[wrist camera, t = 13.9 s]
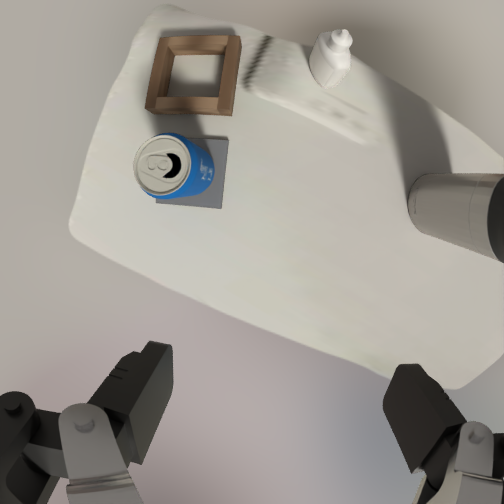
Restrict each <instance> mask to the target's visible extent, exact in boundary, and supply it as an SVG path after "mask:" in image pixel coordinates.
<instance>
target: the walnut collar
mask: <svg viewBox="0 0 504 504" xmlns="http://www.w3.org/2000/svg"><path fill="white" fill-rule="evenodd" d="M241 49H242V46H241V39H240V36H229V35H198V36H177V37H164V38H160V39H159V43H158V47H157V51H156V55H155V59H154V63H153V68H152V73H151V77H150V82H149V87H148V92H147V98H146V103H145V109H146V110H148V111H150V112H151V113H153V114H200V115H222V116H232V112H233V104H234V97H235V90H236V82H237V75H238V69H239V62H240V55H241ZM175 55H225V58H224V65H223V71H222V77H221V83H220V90H219V97H167V92H168V87H169V81H170V76H171V71H172V66H173V62H174V57H175Z"/></svg>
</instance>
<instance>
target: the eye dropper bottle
mask: <svg viewBox="0 0 504 504" xmlns="http://www.w3.org/2000/svg"><path fill="white" fill-rule="evenodd" d="M351 44H352V37H351V35H350V34H349V32H348V31H347V30H346V29H343V30H339V29H338V30H334V31H333V32H323V33H321V34H319V36H318V37H317V40H316V42H315V45H314V47H313V50H312V52H311V55H310V57H309V65H310V70H311V73H312V75H313V77H314V78H315V80H316V81H317V83H318V84H319V85H320V86H321V87H322V88H325V89H327V88H332V87H336V86H337V85H338V84H339V82H340V81H341V80H342V79H343V77H344V76H345V75H346V73H347V72H348V71H349V69H350V67H351V54H350V50H349V47H350V46H351Z"/></svg>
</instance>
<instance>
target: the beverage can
mask: <svg viewBox="0 0 504 504" xmlns="http://www.w3.org/2000/svg"><path fill="white" fill-rule="evenodd" d="M133 170H134V175H135V178H136V181H137V182H138V184H139V185H140V187H141V188H142V189H143V190H144V191H145V192H146V193H147V194H148V195H150V196H152V197H154V198H157V199H173V198H180V197H187V196H194V195H198V194H200V193H202V192H203V191H205V190H206V189H207V188H208V187H209V186H210V184H211V182H212V180H213V178H214V173H215V167H214V162H213V160H212V158H211V156H210V155H209V154H208V153H207V152H206V151H205V150H203V149H202V148H200V147H199V146H197V145H196V144H194V143H193V142H191V141H189V140H188V139H186V138H185V137H183V136H181V135H179V134H175V133H162V134H159V135H156V136H154V137H152V138H151V139H149V140H147V141H146V142H145V143H144V144H143V145H142V146H141V147H140V148H139V150H138V151H137V154H136V156H135V159H134V165H133Z"/></svg>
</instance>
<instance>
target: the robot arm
mask: <svg viewBox="0 0 504 504" xmlns="http://www.w3.org/2000/svg"><path fill="white" fill-rule="evenodd" d="M408 209H409V214H410V218H411V220H412V222H413V224H414V225H415V227H416V228H417V229H418V230H419V231H421V232H422V233H424V234H427V235H430V236H433V237H436V238H438V239H441V240H444V241H447V242H450V243H452V244H455V245H458V246H461V247H464V248H466V249H469V250H472V251H474V252H477V253H480V254H482V255H485V256H487V257H490V258H493V259H495V260H498V261H500V262H502V263H504V174H482V173H454V174H427V175H423V176H422V177H420V178H419V179H418V180H417V181H416V182H415V183H414V185H413V186H412V188H411V191H410V194H409V198H408ZM172 389H173V350H172V346H171V345H169V344H164V343H159V342H154V341H149V342H148V343H147V345H146V346H145V347H144V349H143V350H142V352H141V353H139V352H134V351H133V352H131V353H130V354H128V355H126V356H124V357H122V358H121V360H120V361H119V362H118V364H117V365H116V366H115V369H113V370H112V371H111V372H110V374H109V376H107V377H106V379H105V380H104V381H103V383H102V384H101V385H100V387H99V388H98V389H97V391H96V392H95V393H94V394H93V396H92V397H91V399H90V400H89V401H88V402H87V403H80V404H74V405H71V406H69V407H67V408H66V409H64V410H63V411H62V413H56V412H50V411H45V410H40V409H36V407H35V405H34V403H33V401H32V399H31V398H30V397H29V396H28V395H27V394H25V393H22V392H17V391H12V392H7V393H5V394H3V395H1V396H0V504H47V502H48V500H49V498H50V496H51V494H52V492H53V490H54V488H55V486H56V484H57V482H58V480H59V479H60V477H63V478H68V479H69V482H70V484H69V485H67V486H66V492H67V497H68V500H69V503H70V504H144V503H143V501H142V499H141V497H140V495H139V493H138V491H137V488H136V487H135V484H134V482H133V480H132V478H131V477H130V475H129V472H128V470H127V468H128V466H129V464H130V462H134V463H137V464H140V465H142V463H143V460H144V458H145V456H146V453H147V451H148V448H149V446H150V444H151V441H152V439H153V437H154V434H155V432H156V430H157V427H158V425H159V422H160V420H161V418H162V415H163V413H164V411H165V408H166V406H167V404H168V401H169V399H170V397H171V393H172ZM383 411H384V413H385V415H386V417H387V420H388V422H389V424H390V426H391V428H392V431H393V433H394V435H395V437H396V439H397V442H398V444H399V446H400V448H401V451H402V453H403V455H404V457H405V460H406V462H407V464H408V467H409V469H410V472H411V474H414V473H418V472H422V471H425V473H426V475H425V476H424V477H423V478H422V480H421V482H420V485H419V487H418V490H417V493H416V495H415V498H414V500H413V503H412V504H504V480H503V477H504V433H495V434H493V433H492V431H491V430H490V429H489V428H488V427H487V426H485V425H484V424H482V423H480V422H476V421H471V422H467V421H466V420H465V418H464V417H463V415H462V414H461V413H460V411H459V410H458V408H457V407H456V406H455V404H454V403H453V402H452V401H451V400H449V396H448V395H447V394H446V393H444V390H443V388H442V387H441V386H440V385H439V383H438V382H437V381H435V380H434V379H432V378H431V377H430V376H428V375H427V373H426V372H425V371H424V369H423V368H422V367H421V366H420V365H419V364H400V365H399V366H398V367H397V368H396V370H395V373H394V375H393V378H392V380H391V382H390V385H389V387H388V389H387V391H386V394H385V396H384V399H383Z"/></svg>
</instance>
